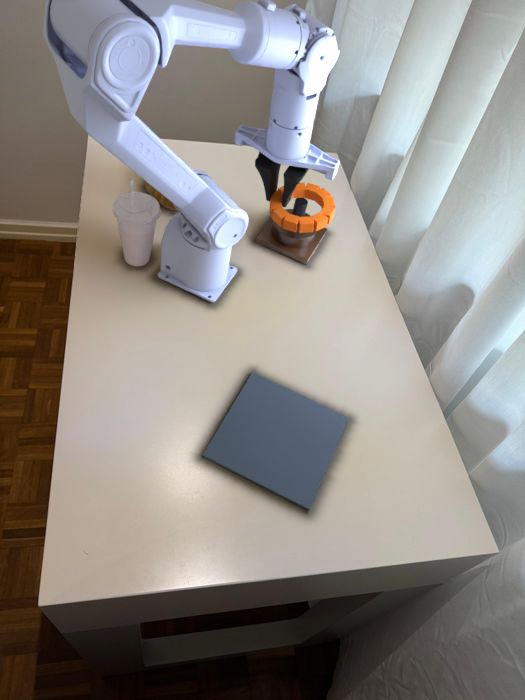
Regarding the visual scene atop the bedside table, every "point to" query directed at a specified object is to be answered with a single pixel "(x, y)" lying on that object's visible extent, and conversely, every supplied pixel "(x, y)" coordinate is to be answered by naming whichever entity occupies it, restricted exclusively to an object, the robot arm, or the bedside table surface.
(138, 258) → the smoothie
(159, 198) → the pastry
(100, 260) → the bedside table surface
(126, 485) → the bedside table surface
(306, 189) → the ring
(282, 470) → the mat
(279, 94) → the robot arm
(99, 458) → the bedside table surface
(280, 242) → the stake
